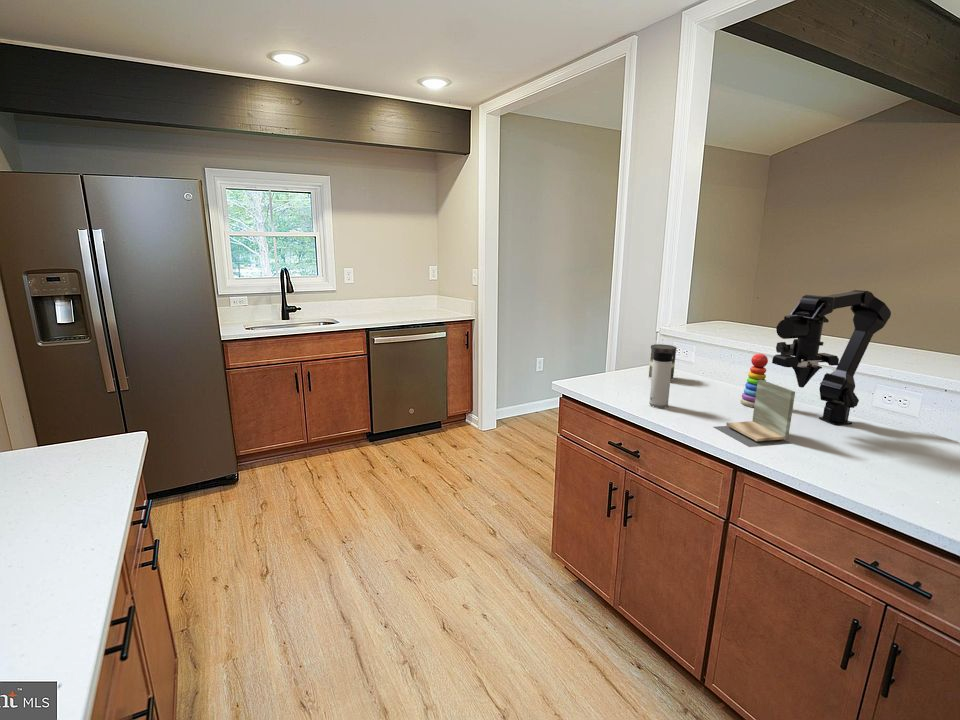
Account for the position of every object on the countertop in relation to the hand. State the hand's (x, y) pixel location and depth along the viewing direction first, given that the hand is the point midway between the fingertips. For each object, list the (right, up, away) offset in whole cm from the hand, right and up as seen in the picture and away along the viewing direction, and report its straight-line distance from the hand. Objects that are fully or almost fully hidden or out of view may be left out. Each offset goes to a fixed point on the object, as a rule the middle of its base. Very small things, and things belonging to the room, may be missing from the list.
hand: (801, 387), depth 150 cm
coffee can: (-21, 0, +60) cm, 63 cm away
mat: (-18, -14, -4) cm, 23 cm away
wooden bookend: (-17, -14, -4) cm, 22 cm away
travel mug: (-35, -8, +23) cm, 43 cm away
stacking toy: (-1, -8, +25) cm, 26 cm away
